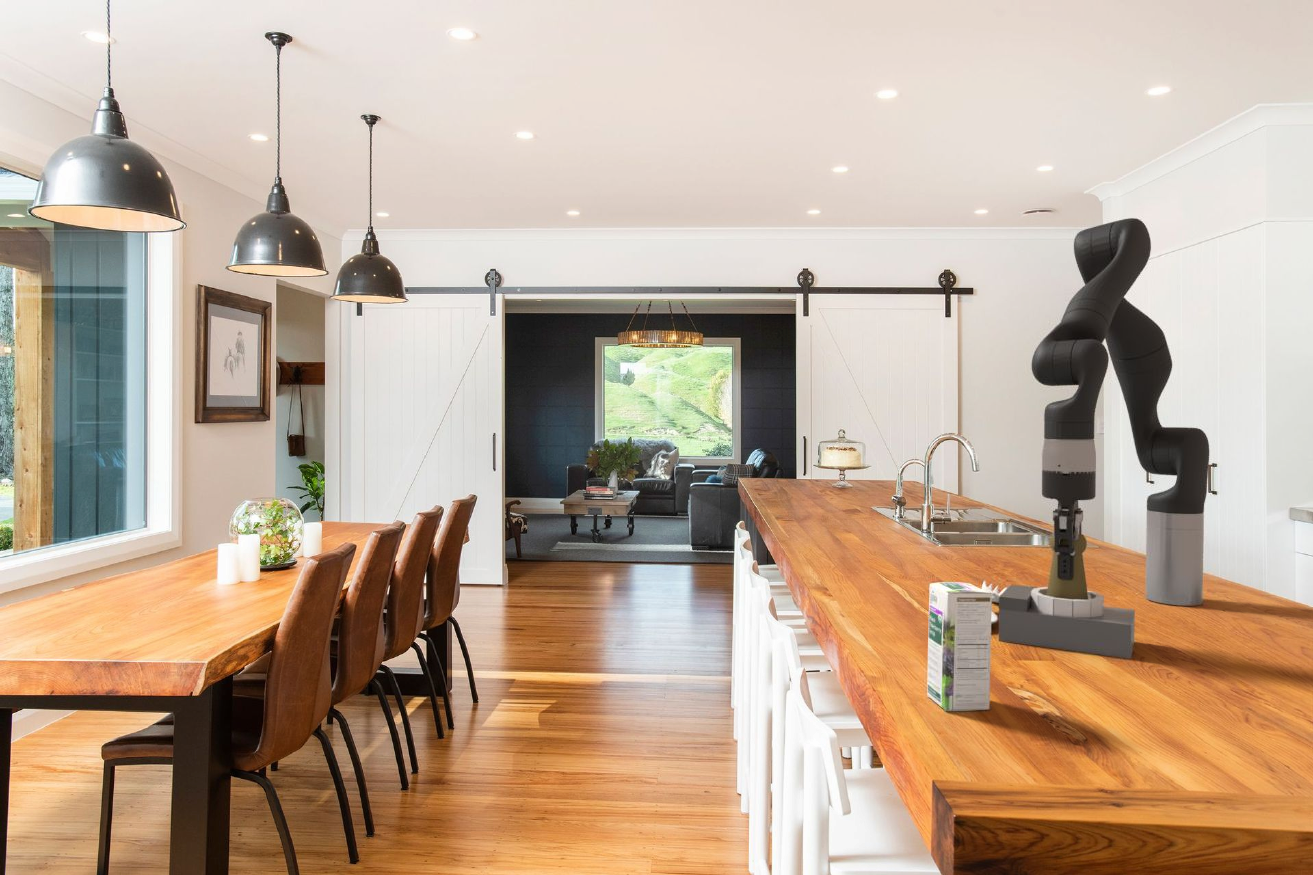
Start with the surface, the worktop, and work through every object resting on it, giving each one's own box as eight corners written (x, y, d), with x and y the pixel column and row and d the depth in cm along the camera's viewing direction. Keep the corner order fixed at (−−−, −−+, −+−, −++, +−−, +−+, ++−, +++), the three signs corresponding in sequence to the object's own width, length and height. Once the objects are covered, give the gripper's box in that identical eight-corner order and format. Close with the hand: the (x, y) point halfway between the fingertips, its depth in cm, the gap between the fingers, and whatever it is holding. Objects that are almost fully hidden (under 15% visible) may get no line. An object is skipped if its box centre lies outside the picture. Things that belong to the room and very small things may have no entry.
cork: (1094, 606, 124) (1095, 534, 124) (1051, 604, 125) (1052, 533, 125) (1082, 598, 130) (1082, 529, 130) (1041, 596, 131) (1042, 528, 131)
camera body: (1010, 625, 137) (1011, 581, 137) (1134, 641, 127) (1135, 593, 127) (998, 640, 128) (999, 593, 128) (1130, 659, 118) (1131, 607, 118)
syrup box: (925, 695, 103) (926, 581, 102) (970, 694, 103) (971, 581, 103) (945, 712, 97) (946, 591, 96) (992, 710, 97) (993, 590, 97)
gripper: (1048, 465, 135) (1047, 566, 135) (1035, 470, 123) (1034, 581, 123) (1099, 466, 131) (1098, 571, 131) (1091, 471, 119) (1090, 587, 119)
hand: (1067, 575), depth 127 cm, fingers closed on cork, 4 cm apart
